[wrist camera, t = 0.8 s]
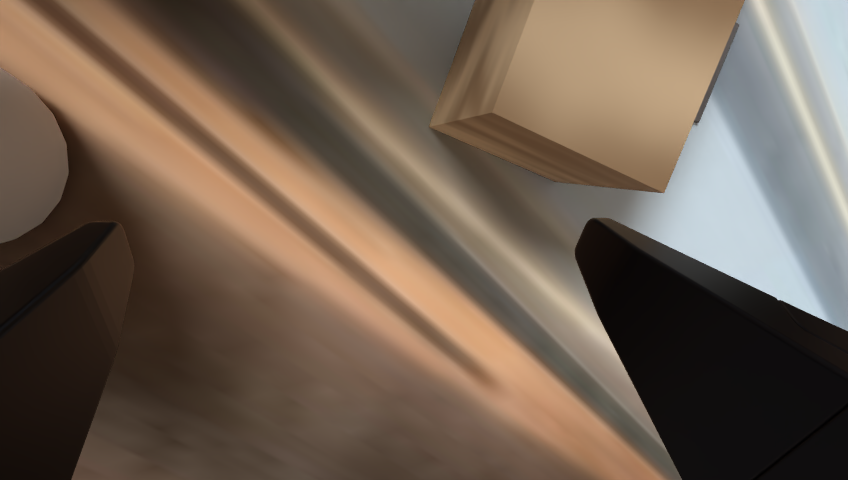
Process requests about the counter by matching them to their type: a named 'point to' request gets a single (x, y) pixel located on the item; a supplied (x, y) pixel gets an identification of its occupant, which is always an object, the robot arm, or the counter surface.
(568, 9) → the oak block
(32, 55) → the counter surface
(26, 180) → the can
